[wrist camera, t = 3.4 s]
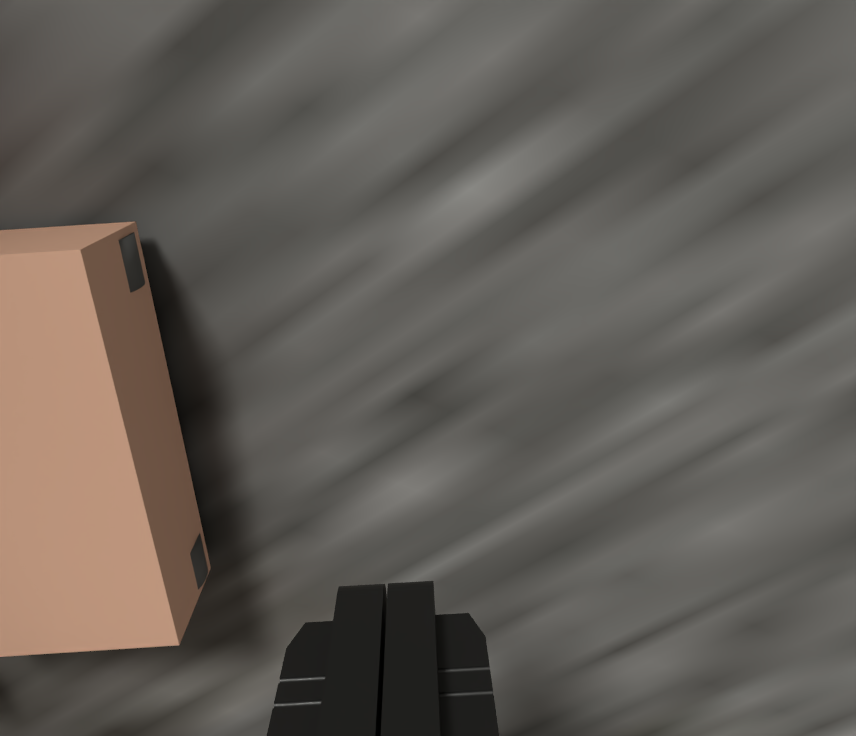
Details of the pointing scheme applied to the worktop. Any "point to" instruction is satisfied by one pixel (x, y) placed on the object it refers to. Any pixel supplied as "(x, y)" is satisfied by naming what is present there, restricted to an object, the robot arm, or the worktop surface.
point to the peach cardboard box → (89, 451)
